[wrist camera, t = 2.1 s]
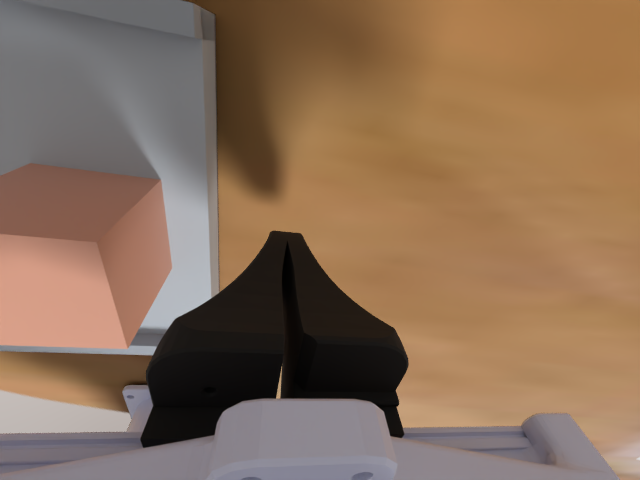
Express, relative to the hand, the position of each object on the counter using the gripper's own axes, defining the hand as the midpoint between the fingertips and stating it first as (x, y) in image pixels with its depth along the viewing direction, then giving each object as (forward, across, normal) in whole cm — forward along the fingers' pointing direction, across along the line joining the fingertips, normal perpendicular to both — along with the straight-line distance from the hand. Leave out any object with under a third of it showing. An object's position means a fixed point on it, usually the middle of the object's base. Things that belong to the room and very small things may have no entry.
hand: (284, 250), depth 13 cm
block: (+1, +7, 0) cm, 7 cm away
